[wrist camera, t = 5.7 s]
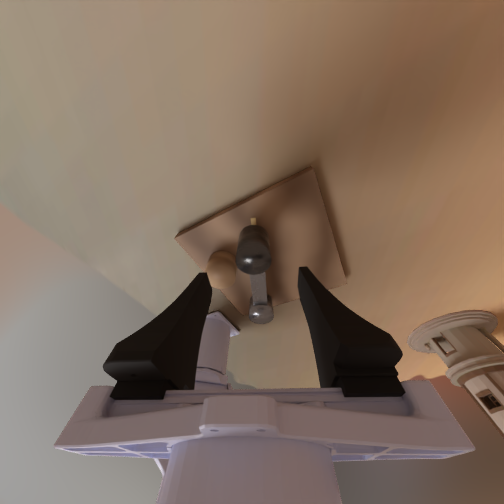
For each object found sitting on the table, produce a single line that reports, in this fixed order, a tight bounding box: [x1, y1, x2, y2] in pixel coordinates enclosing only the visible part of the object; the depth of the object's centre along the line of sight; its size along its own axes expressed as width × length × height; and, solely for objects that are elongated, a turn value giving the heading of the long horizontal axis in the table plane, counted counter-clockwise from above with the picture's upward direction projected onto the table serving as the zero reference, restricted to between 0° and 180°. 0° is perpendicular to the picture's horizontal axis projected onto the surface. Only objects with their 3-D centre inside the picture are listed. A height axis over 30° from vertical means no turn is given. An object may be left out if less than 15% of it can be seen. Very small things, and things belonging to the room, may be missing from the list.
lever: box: [235, 225, 274, 324], centre depth 22 cm, size 16×4×6 cm, turn 5°
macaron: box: [205, 251, 237, 289], centre depth 24 cm, size 4×4×3 cm
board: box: [174, 166, 347, 315], centre depth 25 cm, size 18×18×1 cm
